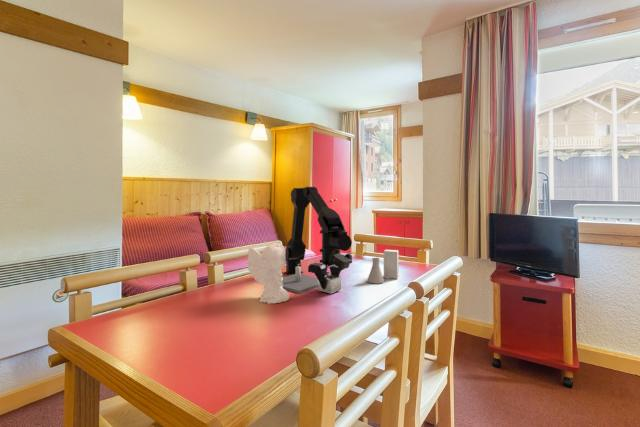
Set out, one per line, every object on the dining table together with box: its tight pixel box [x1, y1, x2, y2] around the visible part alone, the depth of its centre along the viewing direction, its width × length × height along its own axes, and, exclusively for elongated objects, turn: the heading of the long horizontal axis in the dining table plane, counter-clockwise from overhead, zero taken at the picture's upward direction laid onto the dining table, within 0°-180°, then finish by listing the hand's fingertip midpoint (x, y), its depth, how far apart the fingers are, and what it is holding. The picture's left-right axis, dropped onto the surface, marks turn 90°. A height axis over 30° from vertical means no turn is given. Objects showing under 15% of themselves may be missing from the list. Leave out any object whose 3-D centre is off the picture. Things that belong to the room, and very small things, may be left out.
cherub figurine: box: [246, 241, 290, 305], centre depth 118 cm, size 13×12×20 cm
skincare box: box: [383, 249, 400, 280], centre depth 147 cm, size 6×4×12 cm
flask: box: [366, 257, 385, 285], centre depth 141 cm, size 7×7×10 cm
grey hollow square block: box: [316, 273, 342, 294], centre depth 127 cm, size 6×6×5 cm
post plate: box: [282, 266, 318, 294], centre depth 137 cm, size 18×18×7 cm
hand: (329, 287), depth 127 cm, fingers closed on grey hollow square block, 6 cm apart
